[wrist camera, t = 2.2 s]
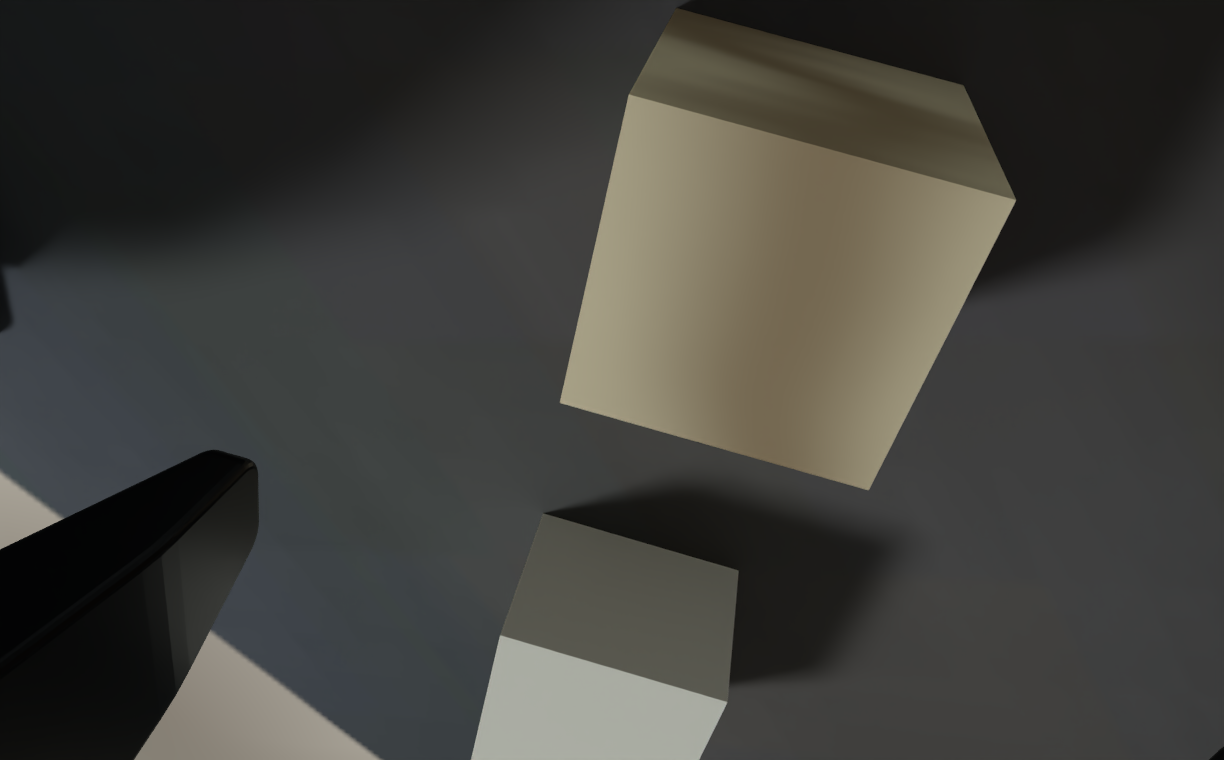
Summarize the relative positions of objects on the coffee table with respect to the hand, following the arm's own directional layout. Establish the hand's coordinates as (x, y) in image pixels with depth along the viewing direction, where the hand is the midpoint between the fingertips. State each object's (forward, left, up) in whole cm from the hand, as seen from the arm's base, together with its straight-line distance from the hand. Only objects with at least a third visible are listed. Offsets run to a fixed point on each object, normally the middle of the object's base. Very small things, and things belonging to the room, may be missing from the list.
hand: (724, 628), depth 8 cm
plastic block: (0, -12, -11) cm, 16 cm away
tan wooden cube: (0, 0, -11) cm, 11 cm away
